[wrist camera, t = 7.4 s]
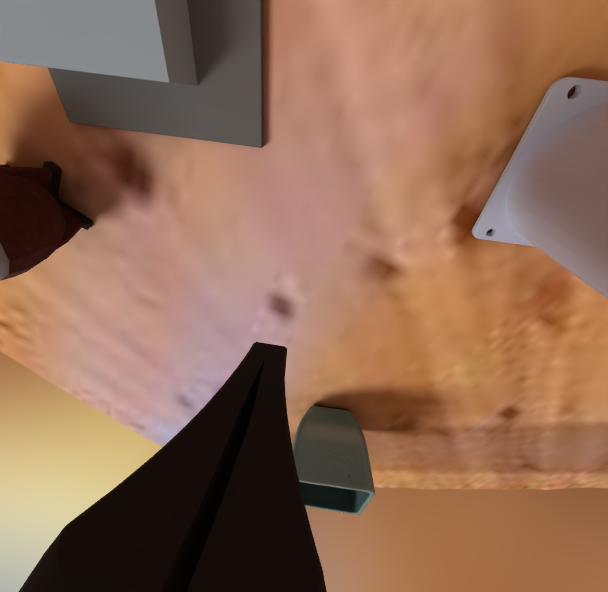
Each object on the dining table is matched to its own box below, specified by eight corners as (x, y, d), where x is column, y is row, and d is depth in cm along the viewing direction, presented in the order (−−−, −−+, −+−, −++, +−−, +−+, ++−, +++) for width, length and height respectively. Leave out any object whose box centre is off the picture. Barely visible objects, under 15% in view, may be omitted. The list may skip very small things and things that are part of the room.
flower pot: (357, 435, 36) (360, 517, 29) (296, 427, 37) (285, 504, 30) (368, 403, 31) (376, 493, 23) (297, 393, 31) (284, 478, 24)
